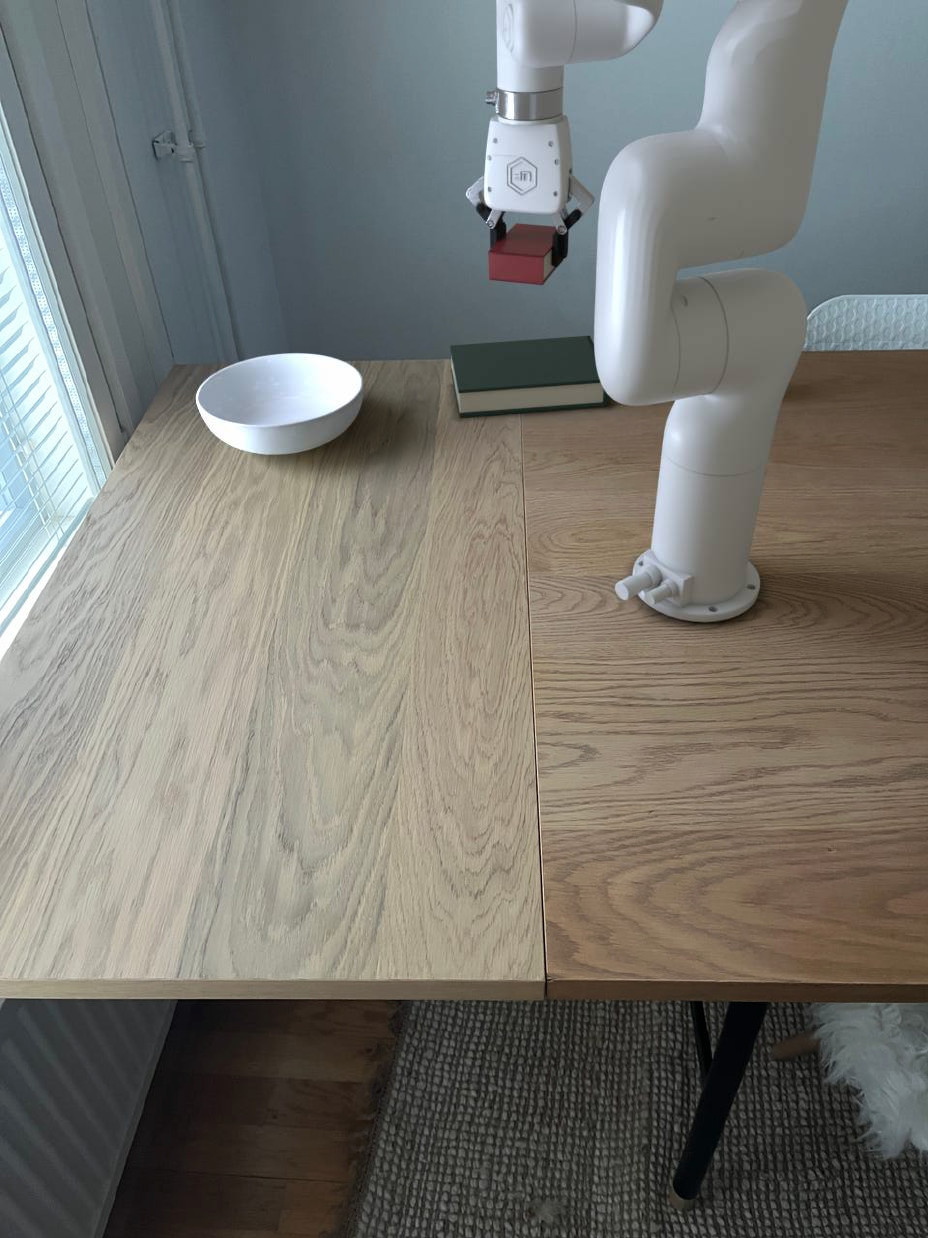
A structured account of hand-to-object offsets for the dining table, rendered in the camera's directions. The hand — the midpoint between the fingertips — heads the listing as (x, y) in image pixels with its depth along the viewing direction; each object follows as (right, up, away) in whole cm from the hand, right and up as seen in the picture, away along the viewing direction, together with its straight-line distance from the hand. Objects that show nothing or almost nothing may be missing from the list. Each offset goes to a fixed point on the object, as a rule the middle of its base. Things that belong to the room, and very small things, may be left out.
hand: (528, 259), depth 120 cm
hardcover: (+1, -14, +11) cm, 18 cm away
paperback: (0, -1, +1) cm, 1 cm away
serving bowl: (-31, -22, +4) cm, 38 cm away
